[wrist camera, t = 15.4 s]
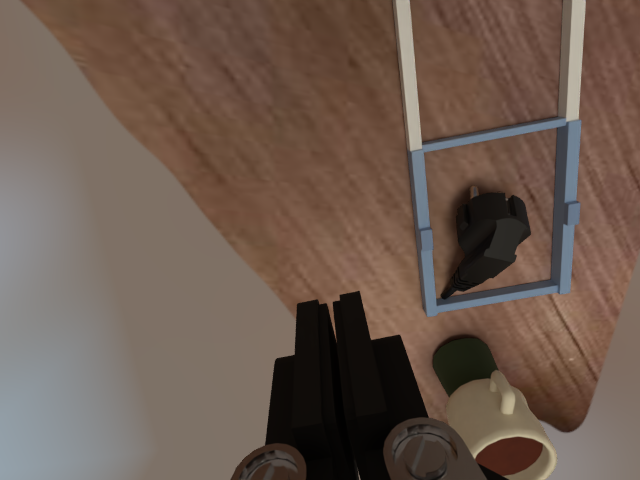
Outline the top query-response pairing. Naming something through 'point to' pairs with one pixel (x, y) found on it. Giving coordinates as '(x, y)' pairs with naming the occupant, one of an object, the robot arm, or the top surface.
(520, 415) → the character mug
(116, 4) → the top surface
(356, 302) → the robot arm
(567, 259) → the blue cream pronged frame
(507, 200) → the power plug
